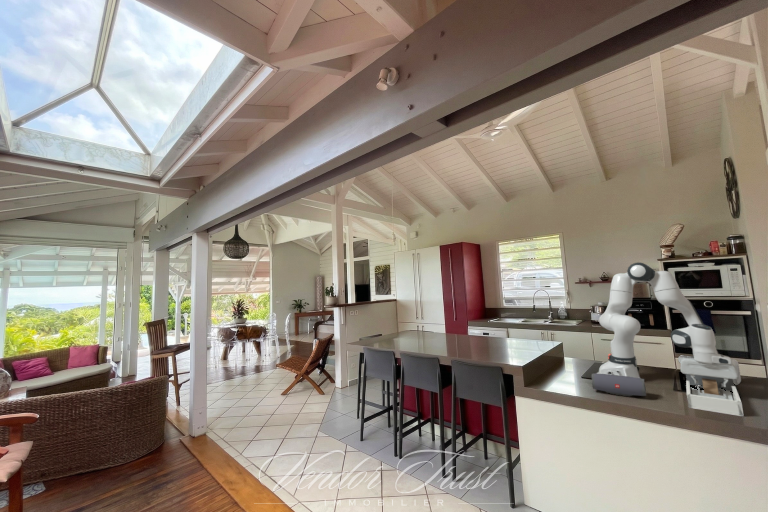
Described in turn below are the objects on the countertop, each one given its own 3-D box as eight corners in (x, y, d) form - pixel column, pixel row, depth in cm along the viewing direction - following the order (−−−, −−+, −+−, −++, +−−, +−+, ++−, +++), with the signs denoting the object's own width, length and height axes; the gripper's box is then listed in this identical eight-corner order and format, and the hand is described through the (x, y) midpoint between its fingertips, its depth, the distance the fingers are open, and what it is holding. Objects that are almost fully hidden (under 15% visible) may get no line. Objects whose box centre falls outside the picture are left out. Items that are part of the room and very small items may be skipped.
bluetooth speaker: (593, 393, 171) (590, 375, 171) (594, 388, 178) (592, 370, 179) (646, 401, 156) (644, 381, 157) (646, 394, 164) (643, 375, 164)
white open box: (688, 407, 147) (686, 394, 147) (687, 392, 162) (686, 380, 163) (743, 416, 135) (741, 402, 135) (737, 399, 151) (735, 386, 151)
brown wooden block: (704, 394, 156) (702, 382, 156) (703, 390, 161) (701, 378, 161) (718, 396, 152) (717, 384, 153) (717, 391, 157) (715, 379, 158)
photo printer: (730, 379, 174) (727, 356, 175) (742, 380, 170) (738, 357, 171) (726, 384, 168) (723, 360, 169) (738, 385, 164) (734, 362, 165)
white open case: (688, 400, 154) (683, 369, 154) (687, 385, 170) (683, 357, 171) (740, 407, 142) (735, 374, 143) (734, 391, 158) (729, 361, 159)
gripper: (677, 356, 162) (681, 383, 162) (736, 361, 148) (740, 390, 147) (677, 353, 167) (681, 379, 166) (734, 357, 153) (739, 386, 152)
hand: (709, 384), depth 157 cm, fingers open, 8 cm apart
